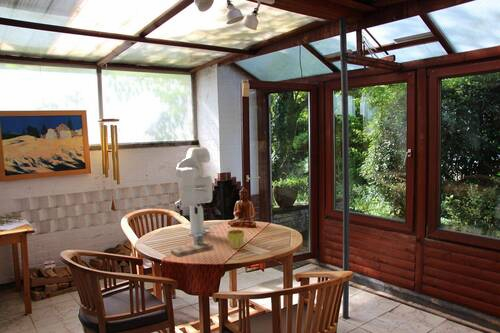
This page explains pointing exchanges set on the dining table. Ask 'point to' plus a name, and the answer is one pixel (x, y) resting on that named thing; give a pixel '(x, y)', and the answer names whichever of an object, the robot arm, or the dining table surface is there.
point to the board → (191, 249)
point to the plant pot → (236, 238)
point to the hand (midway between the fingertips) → (188, 214)
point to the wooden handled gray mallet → (199, 240)
